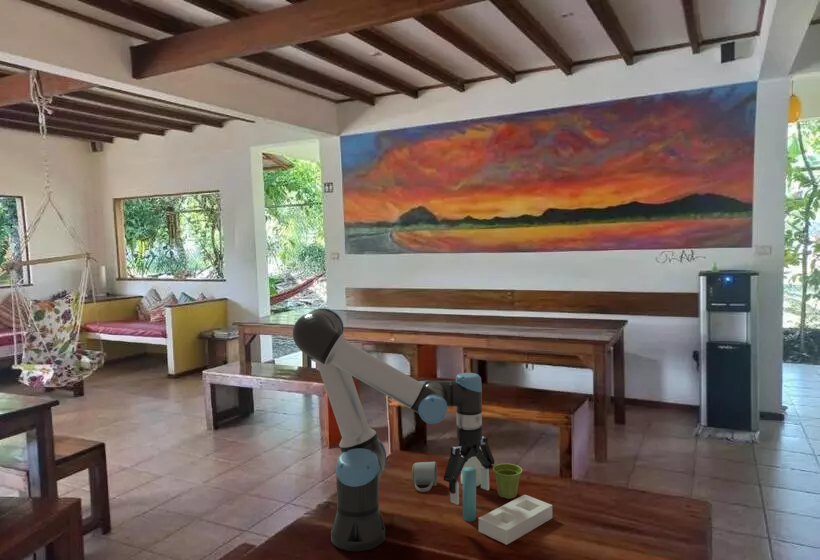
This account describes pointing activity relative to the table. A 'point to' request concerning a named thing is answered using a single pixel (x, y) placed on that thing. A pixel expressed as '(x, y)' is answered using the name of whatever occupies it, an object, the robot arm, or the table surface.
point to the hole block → (515, 519)
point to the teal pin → (469, 494)
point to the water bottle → (475, 464)
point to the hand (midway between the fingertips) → (470, 495)
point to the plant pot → (507, 479)
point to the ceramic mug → (424, 475)
